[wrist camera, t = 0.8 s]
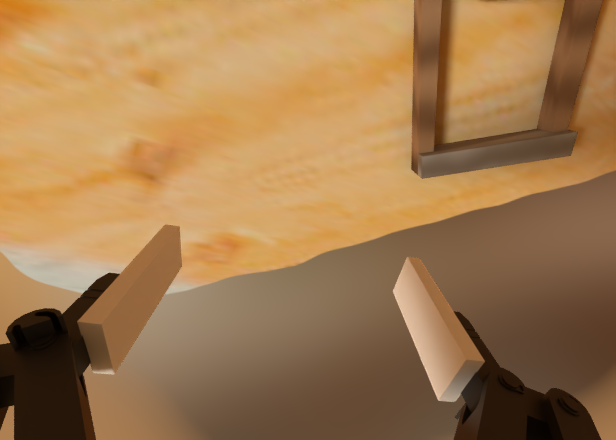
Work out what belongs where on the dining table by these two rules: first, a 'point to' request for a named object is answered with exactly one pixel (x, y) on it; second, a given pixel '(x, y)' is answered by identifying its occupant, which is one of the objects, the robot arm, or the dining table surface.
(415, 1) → the guide
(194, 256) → the dining table surface
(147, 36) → the dining table surface
